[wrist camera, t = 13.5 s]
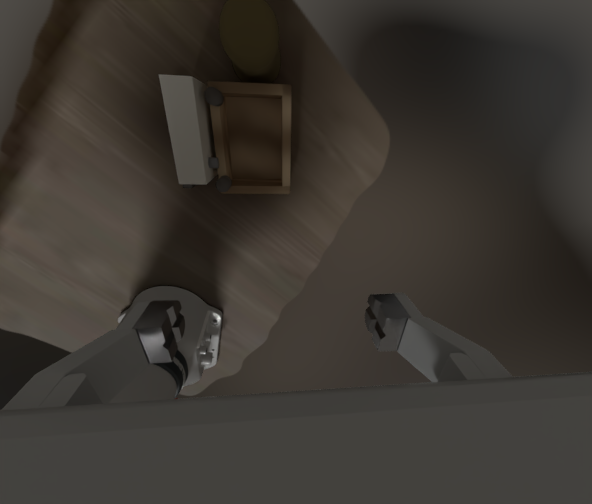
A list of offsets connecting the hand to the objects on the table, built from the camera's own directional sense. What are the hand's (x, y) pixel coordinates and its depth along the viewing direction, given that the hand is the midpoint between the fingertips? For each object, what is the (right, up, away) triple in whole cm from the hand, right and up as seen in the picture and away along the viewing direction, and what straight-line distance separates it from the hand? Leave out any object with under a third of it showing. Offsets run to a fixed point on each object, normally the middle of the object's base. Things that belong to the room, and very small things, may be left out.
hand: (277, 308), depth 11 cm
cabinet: (-8, +18, +23) cm, 30 cm away
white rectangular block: (-11, +19, +22) cm, 31 cm away
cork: (-4, +26, +19) cm, 33 cm away
